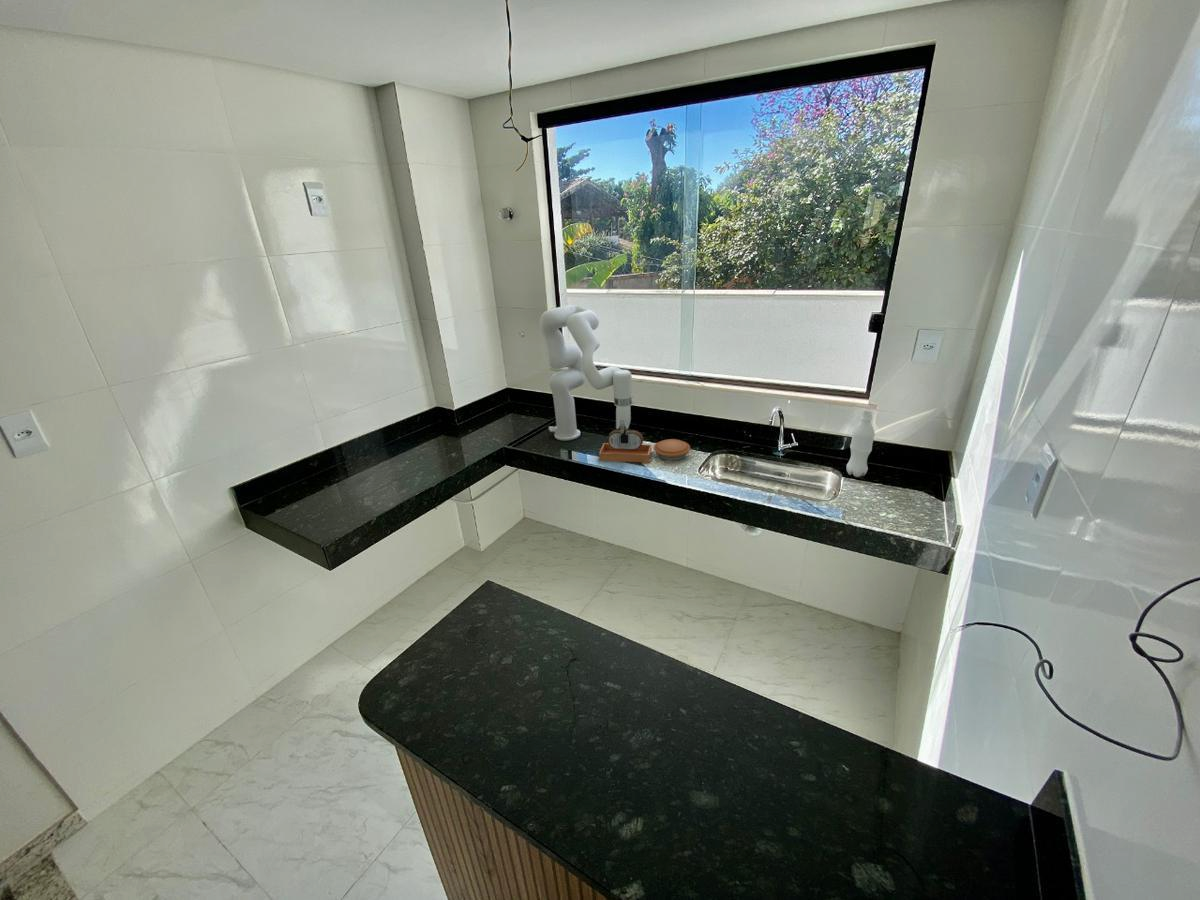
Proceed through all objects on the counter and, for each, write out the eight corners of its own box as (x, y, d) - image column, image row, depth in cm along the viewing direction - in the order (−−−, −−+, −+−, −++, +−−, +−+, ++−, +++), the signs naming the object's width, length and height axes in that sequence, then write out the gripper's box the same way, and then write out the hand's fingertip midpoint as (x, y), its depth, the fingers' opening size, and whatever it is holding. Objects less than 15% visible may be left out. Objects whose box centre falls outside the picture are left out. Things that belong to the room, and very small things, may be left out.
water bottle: (865, 470, 185) (877, 409, 175) (867, 479, 179) (880, 417, 168) (844, 468, 188) (855, 408, 177) (846, 477, 182) (857, 415, 171)
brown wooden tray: (599, 460, 207) (598, 453, 205) (604, 450, 216) (603, 443, 214) (649, 462, 202) (648, 455, 201) (651, 451, 211) (651, 444, 210)
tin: (643, 448, 207) (643, 429, 204) (642, 451, 204) (642, 432, 201) (609, 447, 210) (608, 429, 207) (607, 450, 207) (606, 431, 204)
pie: (668, 444, 217) (668, 433, 215) (697, 453, 207) (697, 442, 205) (646, 456, 208) (646, 445, 206) (675, 466, 198) (675, 455, 196)
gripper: (617, 393, 206) (619, 433, 214) (610, 407, 192) (613, 449, 199) (635, 394, 204) (636, 433, 212) (629, 407, 190) (631, 449, 198)
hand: (625, 441), depth 206 cm, fingers closed on tin, 2 cm apart
